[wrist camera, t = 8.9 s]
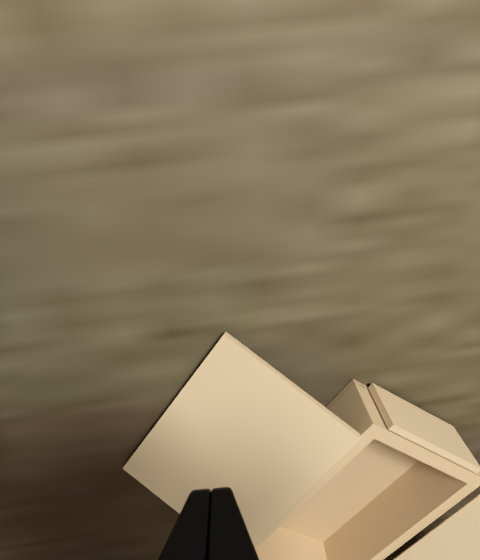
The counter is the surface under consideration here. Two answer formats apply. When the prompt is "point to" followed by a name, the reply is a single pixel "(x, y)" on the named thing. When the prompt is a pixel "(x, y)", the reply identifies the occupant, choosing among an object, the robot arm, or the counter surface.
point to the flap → (450, 537)
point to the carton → (305, 460)
